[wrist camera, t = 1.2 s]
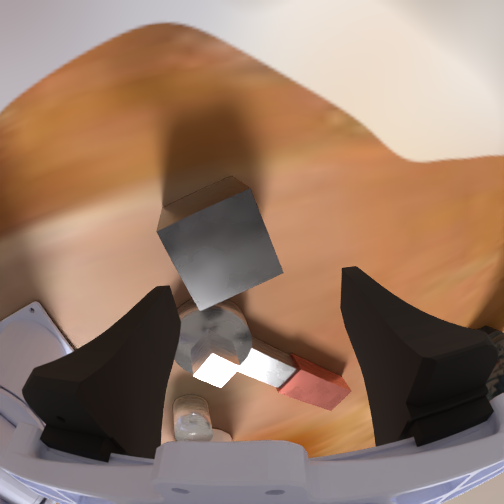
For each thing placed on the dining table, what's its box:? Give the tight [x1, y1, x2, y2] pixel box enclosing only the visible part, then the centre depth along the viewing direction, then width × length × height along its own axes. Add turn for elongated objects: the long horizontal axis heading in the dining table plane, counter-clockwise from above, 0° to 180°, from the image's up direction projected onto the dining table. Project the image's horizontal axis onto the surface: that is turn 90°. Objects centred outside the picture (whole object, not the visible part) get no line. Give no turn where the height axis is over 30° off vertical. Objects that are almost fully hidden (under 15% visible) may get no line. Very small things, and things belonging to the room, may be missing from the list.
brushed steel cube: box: [157, 176, 283, 311], centre depth 20 cm, size 5×5×6 cm
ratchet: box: [174, 299, 351, 411], centre depth 26 cm, size 20×6×6 cm, turn 52°
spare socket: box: [173, 395, 213, 442], centre depth 27 cm, size 4×4×4 cm
